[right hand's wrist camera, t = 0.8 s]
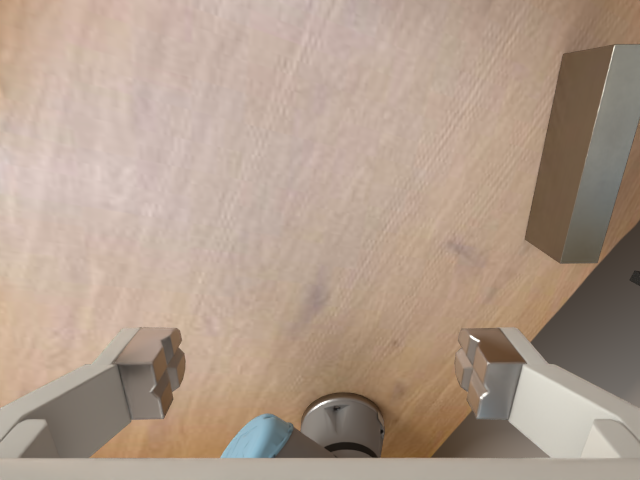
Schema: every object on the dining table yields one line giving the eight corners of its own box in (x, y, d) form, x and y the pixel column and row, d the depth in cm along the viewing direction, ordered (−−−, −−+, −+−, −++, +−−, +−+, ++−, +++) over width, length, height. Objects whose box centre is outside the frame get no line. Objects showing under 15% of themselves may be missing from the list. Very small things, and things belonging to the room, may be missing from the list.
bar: (562, 54, 45) (615, 44, 37) (601, 53, 45) (661, 43, 37) (524, 239, 54) (559, 263, 46) (556, 239, 54) (597, 263, 46)
